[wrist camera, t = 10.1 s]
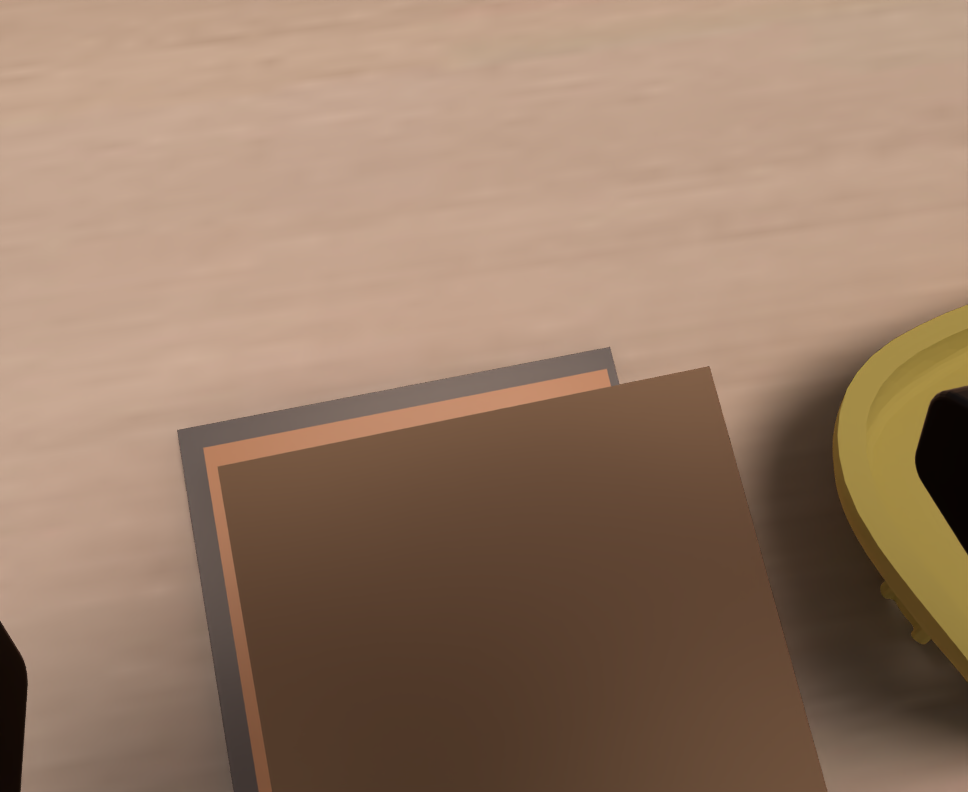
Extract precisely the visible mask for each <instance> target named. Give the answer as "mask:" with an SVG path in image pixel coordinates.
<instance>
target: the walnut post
mask: <svg viewBox="0 0 968 792" xmlns="http://www.w3.org/2000/svg"><path fill="white" fill-rule="evenodd" d="M218 473H219V479H220V485H221V491H222V497H223V503H224V509H225V515H226V521H227V527H228V533H229V539H230V545H231V551H232V557H233V563H234V568H235V574H236V580H237V586H238V592H239V598H240V604H241V610H242V616H243V622H244V628H245V634H246V640H247V646H248V652H249V658H250V663H251V669H252V675H253V681H254V687H255V693H256V699H257V705H258V711H259V717H260V723H261V729H262V735H263V741H264V747H265V753H266V758H267V764H268V770H269V776H270V782H271V788H272V792H827V788H826V784H825V781H824V777H823V774H822V770H821V766H820V763H819V759H818V756H817V752H816V748H815V745H814V741H813V738H812V734H811V730H810V727H809V723H808V720H807V716H806V712H805V709H804V705H803V702H802V698H801V694H800V691H799V687H798V684H797V680H796V676H795V673H794V669H793V666H792V662H791V658H790V655H789V651H788V648H787V644H786V640H785V637H784V633H783V630H782V626H781V622H780V619H779V615H778V612H777V608H776V604H775V601H774V597H773V594H772V590H771V586H770V583H769V579H768V576H767V572H766V568H765V565H764V561H763V558H762V554H761V550H760V547H759V543H758V540H757V536H756V532H755V529H754V525H753V522H752V518H751V514H750V511H749V507H748V504H747V500H746V496H745V493H744V489H743V486H742V482H741V478H740V475H739V471H738V468H737V464H736V460H735V457H734V453H733V450H732V446H731V442H730V439H729V435H728V432H727V428H726V424H725V421H724V417H723V414H722V410H721V406H720V403H719V399H718V396H717V392H716V388H715V385H714V381H713V378H712V374H711V370H710V367H709V366H708V367H703V368H699V369H694V370H689V371H684V372H679V373H674V374H669V375H664V376H659V377H654V378H650V379H645V380H640V381H635V382H630V383H625V384H620V385H615V386H610V387H605V388H600V389H596V390H591V391H586V392H581V393H576V394H571V395H566V396H561V397H556V398H551V399H547V400H542V401H537V402H532V403H527V404H522V405H517V406H512V407H507V408H502V409H497V410H493V411H488V412H483V413H478V414H473V415H468V416H463V417H458V418H453V419H448V420H444V421H439V422H434V423H429V424H424V425H419V426H414V427H409V428H404V429H399V430H395V431H390V432H385V433H380V434H375V435H370V436H365V437H360V438H355V439H350V440H345V441H341V442H336V443H331V444H326V445H321V446H316V447H311V448H306V449H301V450H296V451H292V452H287V453H282V454H277V455H272V456H267V457H262V458H257V459H252V460H247V461H242V462H238V463H233V464H228V465H223V466H218Z"/></svg>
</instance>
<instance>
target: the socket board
mask: <svg viewBox="0 0 968 792" xmlns="http://www.w3.org/2000/svg"><path fill="white" fill-rule="evenodd" d="M615 385H619V381H618V377H617V373H616V369H615V365H614V361H613V357H612V353H611V349H610V347H608V348H603V349H597V350H592V351H587V352H582V353H577V354H571V355H566V356H561V357H556V358H550V359H545V360H540V361H535V362H530V363H524V364H519V365H514V366H509V367H504V368H498V369H493V370H488V371H483V372H478V373H472V374H467V375H462V376H457V377H452V378H446V379H441V380H436V381H431V382H425V383H420V384H415V385H410V386H405V387H399V388H394V389H389V390H384V391H379V392H373V393H368V394H363V395H358V396H353V397H347V398H342V399H337V400H332V401H327V402H321V403H316V404H311V405H306V406H300V407H295V408H290V409H285V410H280V411H274V412H269V413H264V414H259V415H254V416H248V417H243V418H238V419H233V420H228V421H222V422H217V423H212V424H207V425H202V426H196V427H191V428H186V429H181V430H177V432H178V438H179V445H180V451H181V457H182V464H183V470H184V477H185V483H186V489H187V496H188V502H189V509H190V515H191V521H192V528H193V534H194V541H195V547H196V553H197V560H198V566H199V573H200V579H201V585H202V592H203V598H204V605H205V611H206V617H207V624H208V630H209V636H210V643H211V649H212V656H213V662H214V668H215V675H216V681H217V688H218V694H219V700H220V707H221V713H222V720H223V726H224V732H225V739H226V745H227V752H228V758H229V764H230V771H231V777H232V784H233V790H234V792H272V788H271V782H270V776H269V770H268V764H267V758H266V753H265V747H264V741H263V735H262V729H261V723H260V717H259V711H258V705H257V699H256V693H255V687H254V681H253V675H252V669H251V663H250V658H249V652H248V646H247V640H246V634H245V628H244V622H243V616H242V610H241V604H240V598H239V592H238V586H237V580H236V574H235V568H234V563H233V557H232V551H231V545H230V539H229V533H228V527H227V521H226V515H225V509H224V503H223V497H222V491H221V485H220V479H219V473H218V466H223V465H228V464H233V463H238V462H242V461H247V460H252V459H257V458H262V457H267V456H272V455H277V454H282V453H287V452H292V451H296V450H301V449H306V448H311V447H316V446H321V445H326V444H331V443H336V442H341V441H345V440H350V439H355V438H360V437H365V436H370V435H375V434H380V433H385V432H390V431H395V430H399V429H404V428H409V427H414V426H419V425H424V424H429V423H434V422H439V421H444V420H448V419H453V418H458V417H463V416H468V415H473V414H478V413H483V412H488V411H493V410H497V409H502V408H507V407H512V406H517V405H522V404H527V403H532V402H537V401H542V400H547V399H551V398H556V397H561V396H566V395H571V394H576V393H581V392H586V391H591V390H596V389H600V388H605V387H610V386H615Z"/></svg>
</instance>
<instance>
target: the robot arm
mask: <svg viewBox="0 0 968 792" xmlns="http://www.w3.org/2000/svg"><path fill="white" fill-rule="evenodd" d="M915 466H916V471H917V473H918V476H919V478H920V480H921V482H922V483H923V485H924V487H925V488H926V490H927V491H928V493H929V495H930V496H931V498H932V499H933V501H934V502H935V504H936V506H937V507H938V509H939V510H940V512H941V514H942V515H943V517H944V518H945V520H946V522H947V523H948V525H949V526H950V528H951V529H952V531H953V533H954V534H955V536H956V537H957V539H958V541H959V542H960V544H961V545H962V547H963V549H964V550H965V552H966V553H967V555H968V385H967V386H963V387H958V388H953V389H949V390H944V391H941V392H939V393H937V394H936V395H935V396H934V397H933V399H932V400H931V401H930V404H929V407H928V410H927V414H926V417H925V421H924V424H923V428H922V431H921V435H920V438H919V442H918V445H917V449H916V453H915ZM27 686H28V680H27V671H26V666H25V663H24V660H23V658H22V656H21V654H20V652H19V651H18V649H17V647H16V646H15V644H14V643H13V641H12V639H11V638H10V636H9V634H8V633H7V631H6V630H5V628H4V626H3V625H2V623H1V621H0V792H20V791H21V776H22V761H23V746H24V731H25V716H26V702H27Z"/></svg>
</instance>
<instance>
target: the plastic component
mask: <svg viewBox="0 0 968 792" xmlns="http://www.w3.org/2000/svg"><path fill="white" fill-rule="evenodd" d="M967 385H968V305H966V306H963V307H960V308H958V309H955V310H953V311H950V312H947V313H945V314H943V315H941V316H939V317H937V318H934V319H932V320H930V321H928V322H926V323H923V324H921V325H919V326H917V327H915V328H914V329H912V330H910V331H908V332H906V333H905V334H903V335H901V336H899V337H897V338H896V339H894V340H892V341H891V342H889V343H888V344H887V345H885V346H884V347H883V348H882V349H880V350H879V351H878V352H876V353H875V354H874V355H873V356H871V358H870V359H869V360H868V361H867V362H866V363H865V364H864V365H863V366H862V368H861V369H860V370H859V371H858V372H857V374H856V375H855V377H854V379H853V380H852V382H851V383H850V385H849V387H848V388H847V390H846V393H845V395H844V398H843V400H842V403H841V405H840V408H839V411H838V414H837V418H836V422H835V427H834V433H833V465H834V474H835V482H836V487H837V492H838V496H839V499H840V501H841V504H842V507H843V510H844V513H845V515H846V517H847V520H848V522H849V524H850V526H851V528H852V530H853V532H854V534H855V535H856V537H857V539H858V540H859V542H860V544H861V546H862V547H863V549H864V551H865V552H866V554H867V556H868V557H869V559H870V560H871V561H872V563H873V564H874V566H875V567H876V569H877V570H878V571H879V573H880V574H881V576H882V577H883V579H884V580H885V581H884V582H883V583H882V585H881V586H880V590H881V594H882V596H883V597H884V598H886V599H893V600H894V601H895V602H896V604H897V606H898V608H899V609H900V611H901V612H902V614H903V615H904V616H905V617H906V619H907V620H908V621H909V622H910V623H911V624H912V626H913V631H912V632H911V636H912V638H913V639H914V640H916V641H917V642H919V643H920V644H926V643H927V642H929V641H930V640H933V642H934V643H935V644H936V645H937V646H938V647H939V649H940V650H941V651H942V652H943V653H944V655H945V656H946V657H947V658H948V659H949V661H950V662H951V663H952V664H953V665H954V666H955V668H956V669H957V670H958V671H959V672H960V674H961V675H962V676H963V677H964V679H965V680H966V681H967V682H968V555H967V553H966V552H965V550H964V549H963V547H962V545H961V544H960V542H959V541H958V539H957V537H956V536H955V534H954V533H953V531H952V529H951V528H950V526H949V525H948V523H947V522H946V520H945V518H944V517H943V515H942V514H941V512H940V510H939V509H938V507H937V506H936V504H935V502H934V501H933V499H932V498H931V496H930V495H929V493H928V491H927V490H926V488H925V487H924V485H923V483H922V482H921V480H920V478H919V476H918V473H917V471H916V466H915V453H916V449H917V445H918V442H919V438H920V435H921V431H922V428H923V424H924V421H925V417H926V414H927V410H928V407H929V404H930V401H931V400H932V399H933V397H934V396H935V395H936V394H937V393H939V392H941V391H944V390H949V389H953V388H958V387H963V386H967Z"/></svg>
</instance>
